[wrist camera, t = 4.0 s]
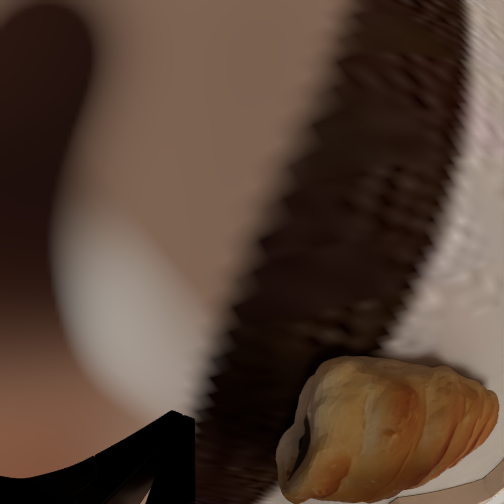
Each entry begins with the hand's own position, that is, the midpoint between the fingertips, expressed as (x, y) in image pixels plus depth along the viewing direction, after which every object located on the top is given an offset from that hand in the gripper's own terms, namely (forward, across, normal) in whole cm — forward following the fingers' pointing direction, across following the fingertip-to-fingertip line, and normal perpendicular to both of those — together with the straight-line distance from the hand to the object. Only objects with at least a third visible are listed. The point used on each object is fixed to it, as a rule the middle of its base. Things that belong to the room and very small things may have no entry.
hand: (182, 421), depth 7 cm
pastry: (+2, -7, -1) cm, 8 cm away
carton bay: (+2, -19, 0) cm, 19 cm away
